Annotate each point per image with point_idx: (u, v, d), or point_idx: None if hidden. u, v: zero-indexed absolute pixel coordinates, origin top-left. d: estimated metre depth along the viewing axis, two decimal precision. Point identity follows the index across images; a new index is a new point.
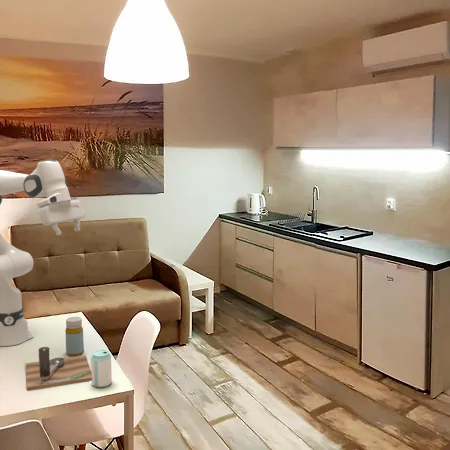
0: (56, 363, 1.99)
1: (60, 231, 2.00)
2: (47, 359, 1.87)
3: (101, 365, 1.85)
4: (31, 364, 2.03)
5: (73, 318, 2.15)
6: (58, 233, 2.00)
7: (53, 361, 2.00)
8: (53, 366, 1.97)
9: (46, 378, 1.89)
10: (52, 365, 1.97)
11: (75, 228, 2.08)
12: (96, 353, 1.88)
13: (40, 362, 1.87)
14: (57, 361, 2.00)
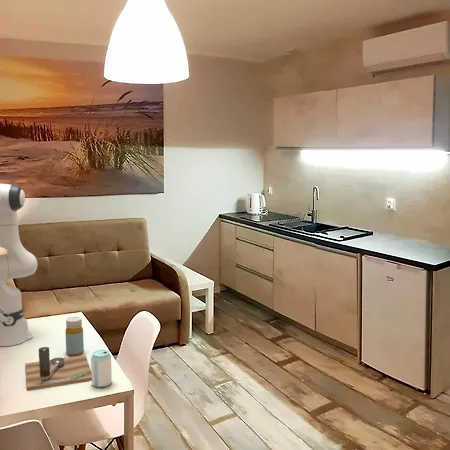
0: (56, 363, 1.99)
1: None
2: (47, 359, 1.87)
3: (101, 365, 1.85)
4: (31, 364, 2.03)
5: (73, 318, 2.15)
6: None
7: (53, 361, 2.00)
8: (53, 366, 1.97)
9: (46, 378, 1.89)
10: (52, 365, 1.97)
11: None
12: (96, 353, 1.88)
13: (40, 362, 1.87)
14: (57, 361, 2.00)
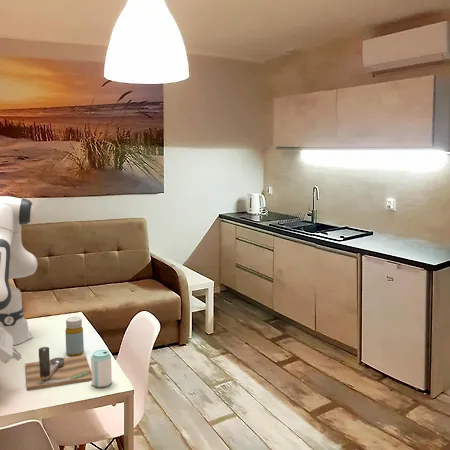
0: (56, 363, 1.99)
1: None
2: (47, 359, 1.87)
3: (101, 365, 1.85)
4: (31, 364, 2.03)
5: (73, 318, 2.15)
6: None
7: (53, 361, 2.00)
8: (53, 366, 1.97)
9: (46, 378, 1.89)
10: (52, 365, 1.97)
11: None
12: (96, 353, 1.88)
13: (40, 362, 1.87)
14: (57, 361, 2.00)
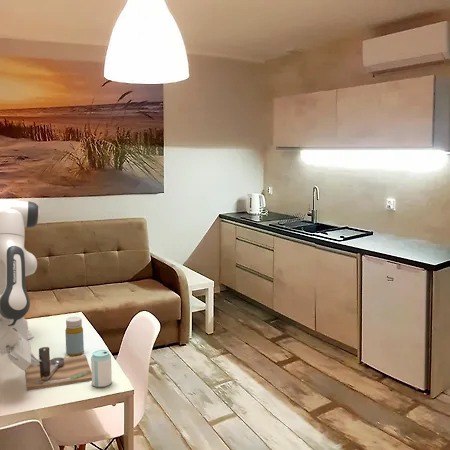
0: (56, 363, 1.99)
1: None
2: (47, 359, 1.87)
3: (101, 365, 1.85)
4: None
5: (73, 318, 2.15)
6: None
7: (53, 361, 2.00)
8: (53, 366, 1.97)
9: (46, 378, 1.89)
10: (52, 365, 1.97)
11: None
12: (96, 353, 1.88)
13: (40, 362, 1.87)
14: (57, 361, 2.00)
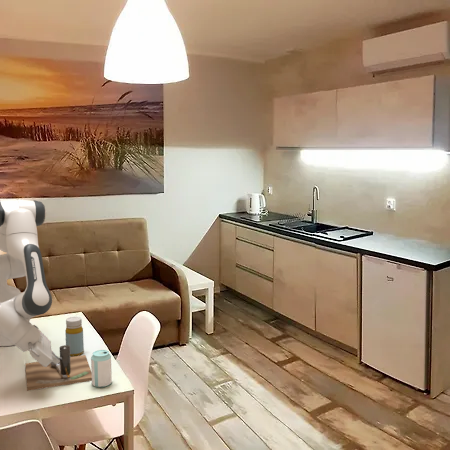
0: None
1: None
2: (69, 356, 1.90)
3: (101, 365, 1.85)
4: (31, 364, 2.03)
5: (73, 318, 2.15)
6: None
7: None
8: None
9: None
10: (58, 365, 1.98)
11: None
12: (96, 353, 1.88)
13: (63, 360, 1.89)
14: None
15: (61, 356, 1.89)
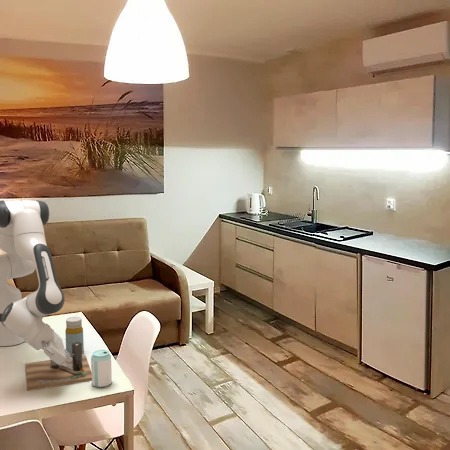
0: None
1: None
2: (81, 352, 1.94)
3: (101, 365, 1.85)
4: (31, 364, 2.03)
5: (73, 318, 2.15)
6: None
7: None
8: (65, 364, 1.99)
9: (81, 371, 1.95)
10: (62, 364, 1.99)
11: None
12: (96, 353, 1.88)
13: (78, 357, 1.92)
14: None
15: (75, 353, 1.92)
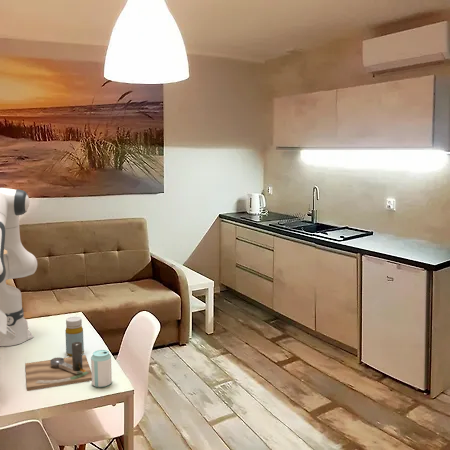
0: (62, 361, 2.00)
1: None
2: (81, 352, 1.94)
3: (101, 365, 1.85)
4: (31, 364, 2.03)
5: (73, 318, 2.15)
6: None
7: (57, 361, 2.00)
8: (65, 364, 1.99)
9: (81, 371, 1.95)
10: (62, 364, 1.99)
11: None
12: (96, 353, 1.88)
13: (78, 357, 1.92)
14: (60, 360, 2.01)
15: (75, 353, 1.92)
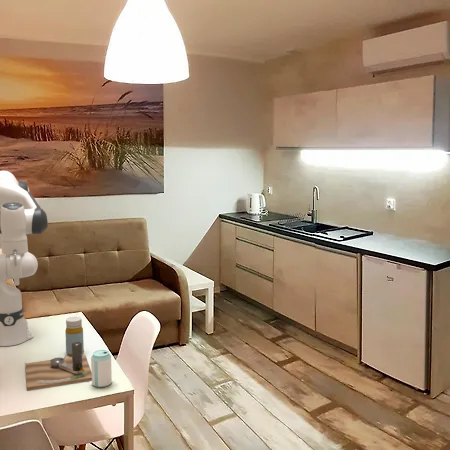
0: (62, 361, 2.00)
1: None
2: (81, 352, 1.94)
3: (101, 365, 1.85)
4: (31, 364, 2.03)
5: (73, 318, 2.15)
6: None
7: (57, 361, 2.00)
8: (65, 364, 1.99)
9: (81, 371, 1.95)
10: (62, 364, 1.99)
11: None
12: (96, 353, 1.88)
13: (78, 357, 1.92)
14: (60, 360, 2.01)
15: (75, 353, 1.92)
